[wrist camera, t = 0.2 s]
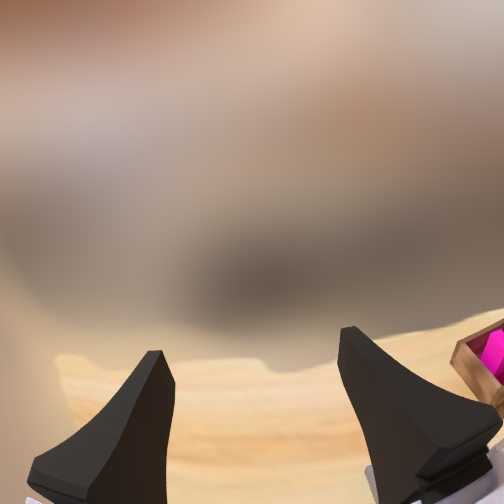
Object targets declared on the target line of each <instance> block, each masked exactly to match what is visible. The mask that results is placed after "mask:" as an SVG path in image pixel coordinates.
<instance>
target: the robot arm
mask: <svg viewBox="0 0 504 504" xmlns="http://www.w3.org/2000/svg"><path fill="white" fill-rule="evenodd" d="M337 364H338V368H339V372H340V375H341V379H342V382H343V385H344V387H345V390H346V392H347V394H348V397H349V399H350V401H351V404H352V406H353V408H354V411H355V413H356V415H357V418H358V420H359V422H360V425H361V427H362V430H363V433H364V436H365V440H366V443H367V447H368V451H369V455H370V459H371V463H372V467H373V472H374V477H375V482H376V488H377V494H378V501H379V504H504V448H503V449H501V450H500V451H499V452H497V453H496V454H494V455H493V456H492V457H491V458H489V459H488V457H487V455H486V454H487V453H488V452H489V449H488V447H487V444H488V443H489V442H490V440H491V439H492V438H493V437H494V436H495V435H496V434H497V432H498V431H499V430H500V429H501V427H502V425H503V420H502V418H501V417H500V415H499V414H498V412H497V411H496V409H495V408H494V407H493V405H489V404H485V403H481V402H477V401H473V400H470V399H467V398H464V397H461V396H459V395H456V394H453V393H451V392H449V391H446V390H444V389H442V388H440V387H438V386H436V385H434V384H432V383H430V382H428V381H426V380H425V379H423V378H421V377H420V376H418V375H416V374H415V373H413V372H411V371H410V370H408V369H407V368H406V367H404V366H403V365H401V364H400V363H399V362H397V361H396V360H395V359H393V358H392V357H391V356H390V355H388V354H387V353H386V352H385V351H383V350H382V349H381V348H380V347H379V346H378V345H376V344H375V343H374V342H373V341H372V340H371V339H370V338H368V337H367V336H366V335H365V334H364V333H363V332H362V331H360V330H359V329H358V328H357V327H356V326H352V327H347V328H342V329H341V334H340V343H339V353H338V361H337ZM174 404H175V381H174V378H173V376H172V374H171V371H170V369H169V367H168V364H167V362H166V360H165V357H164V354H163V352H162V350H159V351H158V350H157V351H148V352H147V353H146V354H145V356H144V357H143V359H142V360H141V361H140V362H139V364H138V365H137V367H136V368H135V369H134V371H133V372H132V373H131V375H130V376H129V377H128V379H127V380H126V381H125V383H124V384H123V385H122V386H121V388H120V389H119V390H118V392H117V393H116V394H115V395H114V396H113V397H112V399H111V400H110V401H109V402H108V403H107V404H106V406H105V407H104V408H103V409H102V410H101V411H100V412H99V413H98V414H97V415H96V416H95V417H94V418H93V419H92V420H91V421H89V422H88V423H87V424H86V425H85V426H83V427H82V428H81V429H80V430H79V431H77V432H76V433H75V434H74V435H72V436H71V437H70V438H68V439H67V440H65V441H64V442H62V443H61V444H59V445H58V446H56V447H54V448H53V449H51V450H49V451H47V452H45V453H43V454H42V455H39V456H37V457H35V459H34V461H33V464H32V467H31V470H30V473H29V476H28V479H27V483H28V485H29V486H30V487H31V488H32V489H33V490H35V491H36V492H37V493H39V494H40V495H42V496H43V497H45V498H47V499H48V500H50V501H51V502H53V503H54V504H167V491H166V457H167V447H168V441H169V435H170V429H171V423H172V417H173V411H174ZM25 504H42V503H40V502H38V501H35V500H33V499H31V498H29V497H28V498H26V502H25Z"/></svg>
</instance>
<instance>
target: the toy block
mask: <svg viewBox="0 0 504 504" xmlns="http://www.w3.org/2000/svg"><path fill="white" fill-rule="evenodd" d="M480 361H481V362H482V363H483V364H484V365H485V366H486V368H487V369H488V370H489V371H490V372H491V373H492V375H493V376H494V377H495V378H496V379H497V380H498V382H499V383H500V384H501V385H502V384H504V332H503V331H502V330H501V329H500V330H497V331H495V332H492V333H491V334H490V336H489V339H488V341H487V344H486V346H485V349H484V351H483V354H482V356H481V358H480Z"/></svg>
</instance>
